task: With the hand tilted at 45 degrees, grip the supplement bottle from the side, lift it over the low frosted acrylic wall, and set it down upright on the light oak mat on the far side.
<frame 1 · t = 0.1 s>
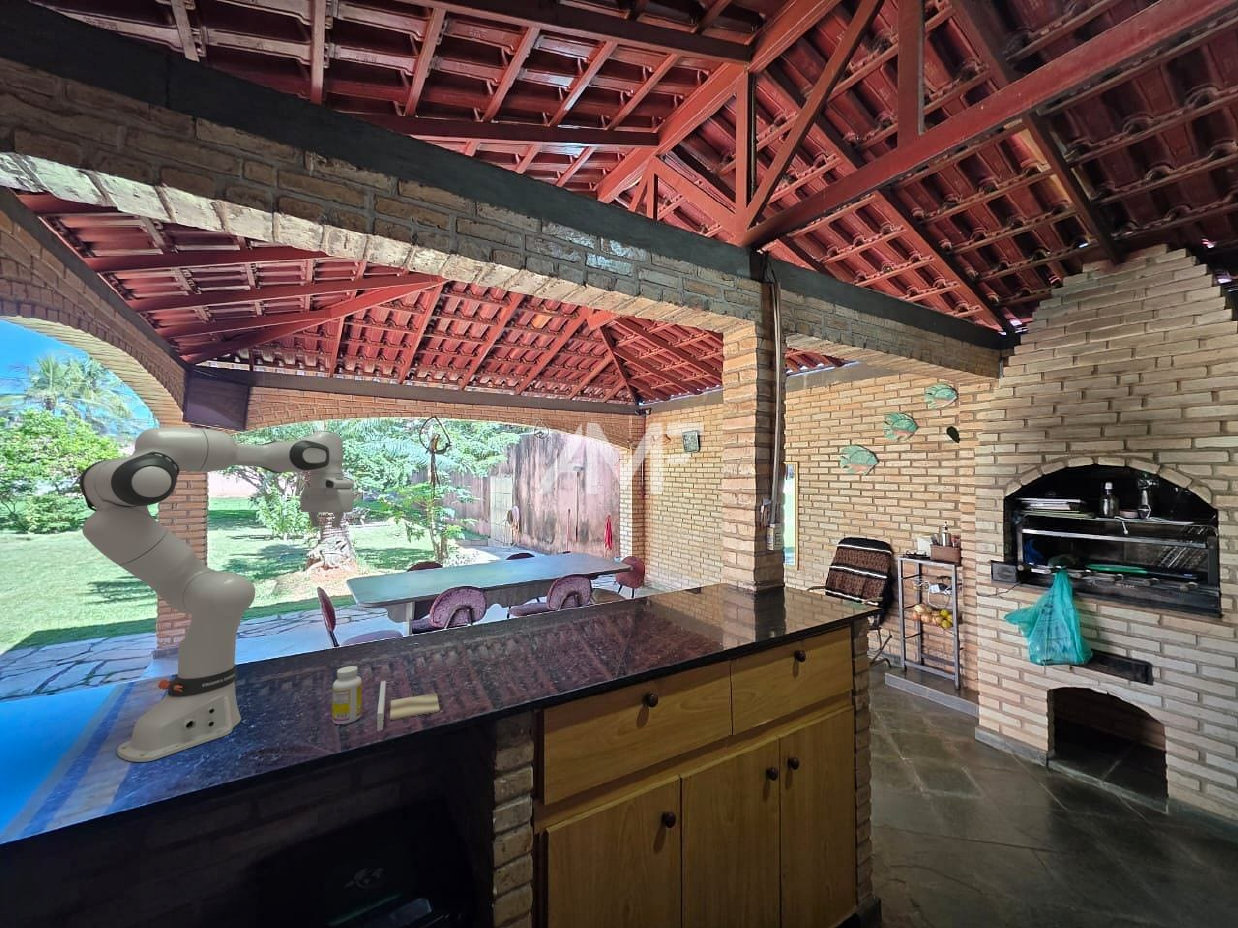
hand: (325, 527, 152), 48 cm above the counter, tool pointing down, fingers open, 8 cm apart
frosted acrylic wall: (381, 713, 129), on the counter
light oak mat: (414, 707, 133), on the counter
supplement bottle: (346, 720, 126), on the counter
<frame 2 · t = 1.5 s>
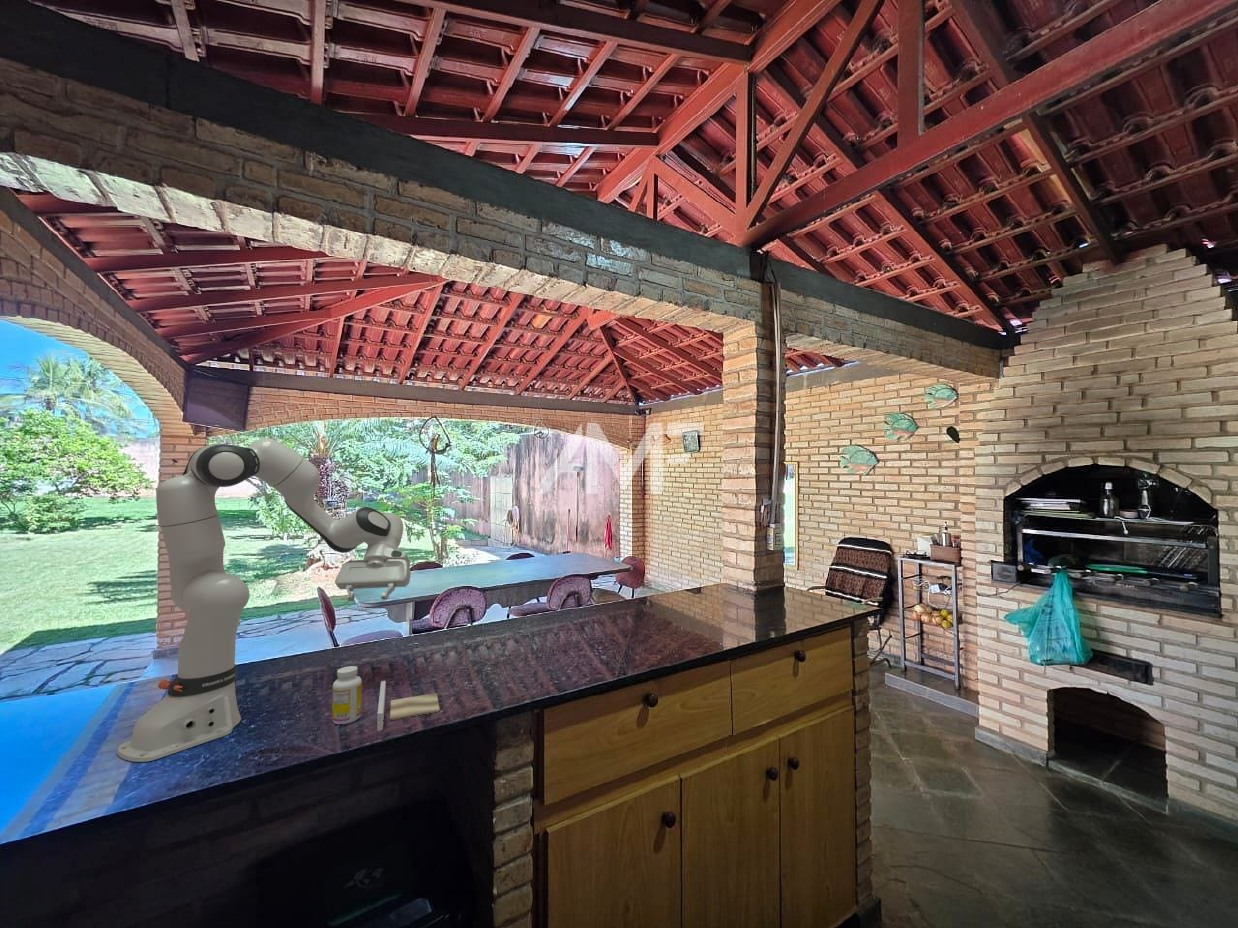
hand: (367, 599, 140), 28 cm above the counter, tool tilted 45°, fingers open, 8 cm apart
nothing on the counter moved.
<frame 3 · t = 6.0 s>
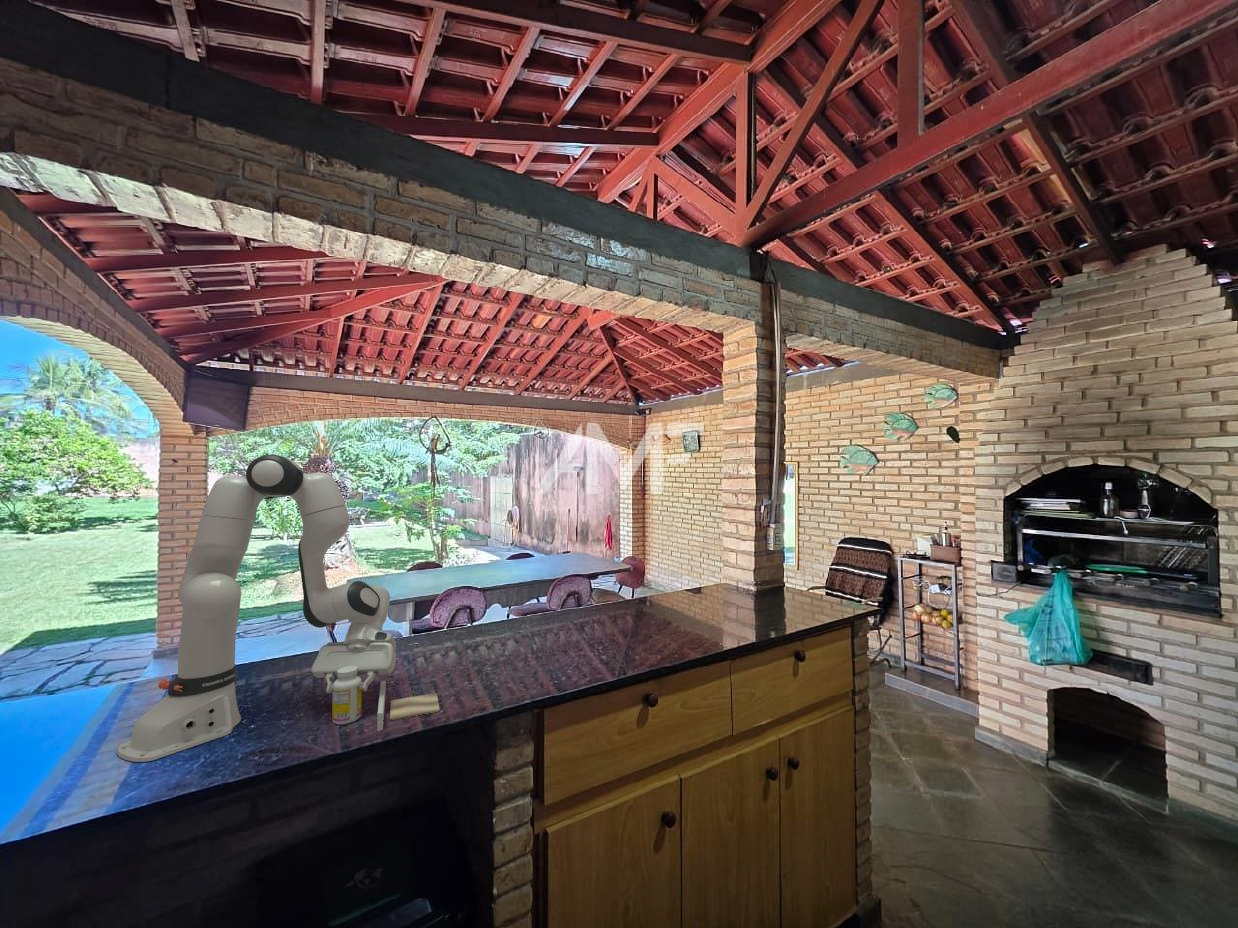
hand: (346, 691, 126), 7 cm above the counter, tool tilted 45°, fingers closed on supplement bottle, 7 cm apart
supplement bottle: (346, 720, 126), on the counter, touching gripper
when the fingers open (9 cm above the counter, at t = 12.2 s): supplement bottle stays where it is, resting on light oak mat.
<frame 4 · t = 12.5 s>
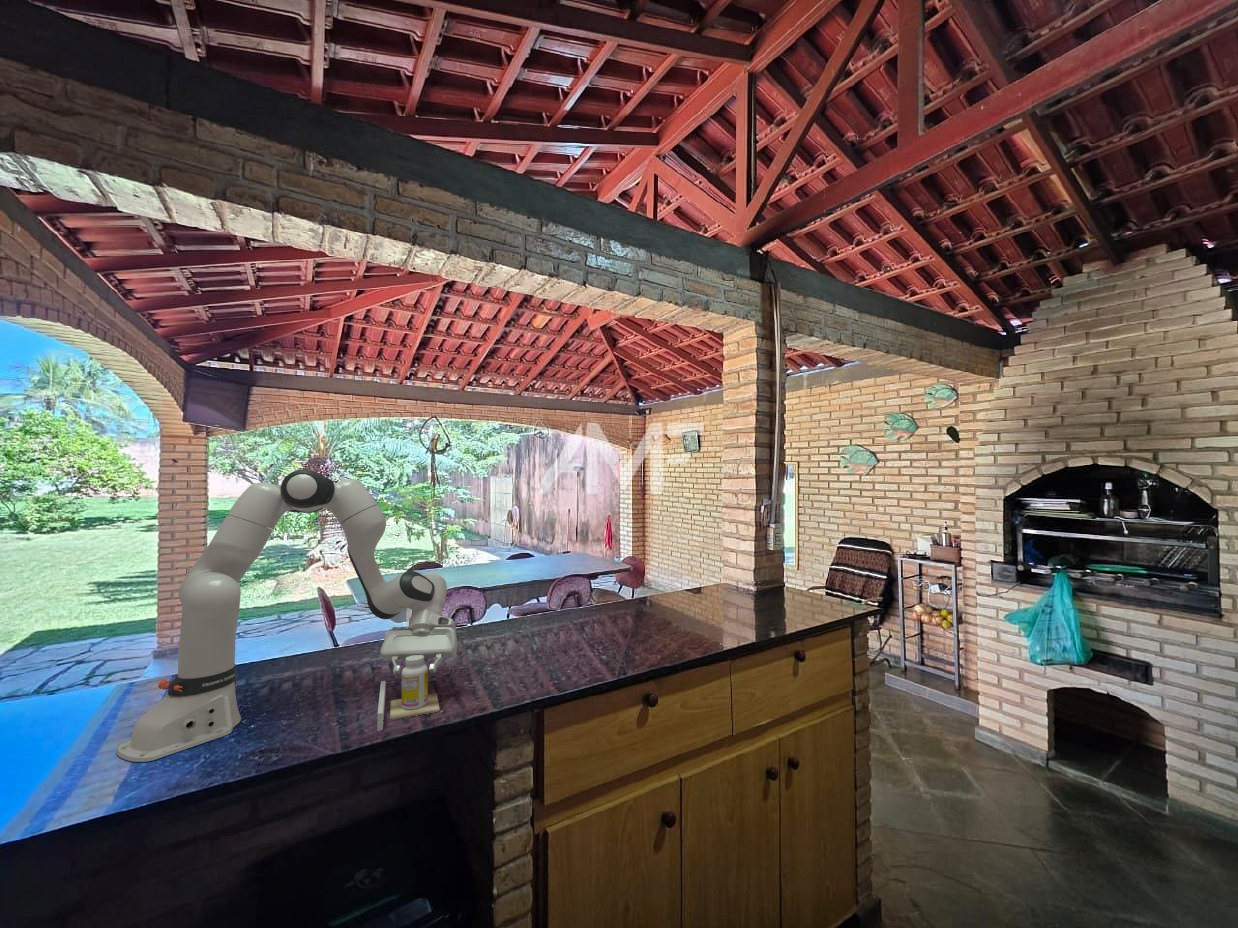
hand: (414, 672, 133), 10 cm above the counter, tool tilted 45°, fingers open, 8 cm apart
supplement bottle: (414, 705, 133), resting on light oak mat
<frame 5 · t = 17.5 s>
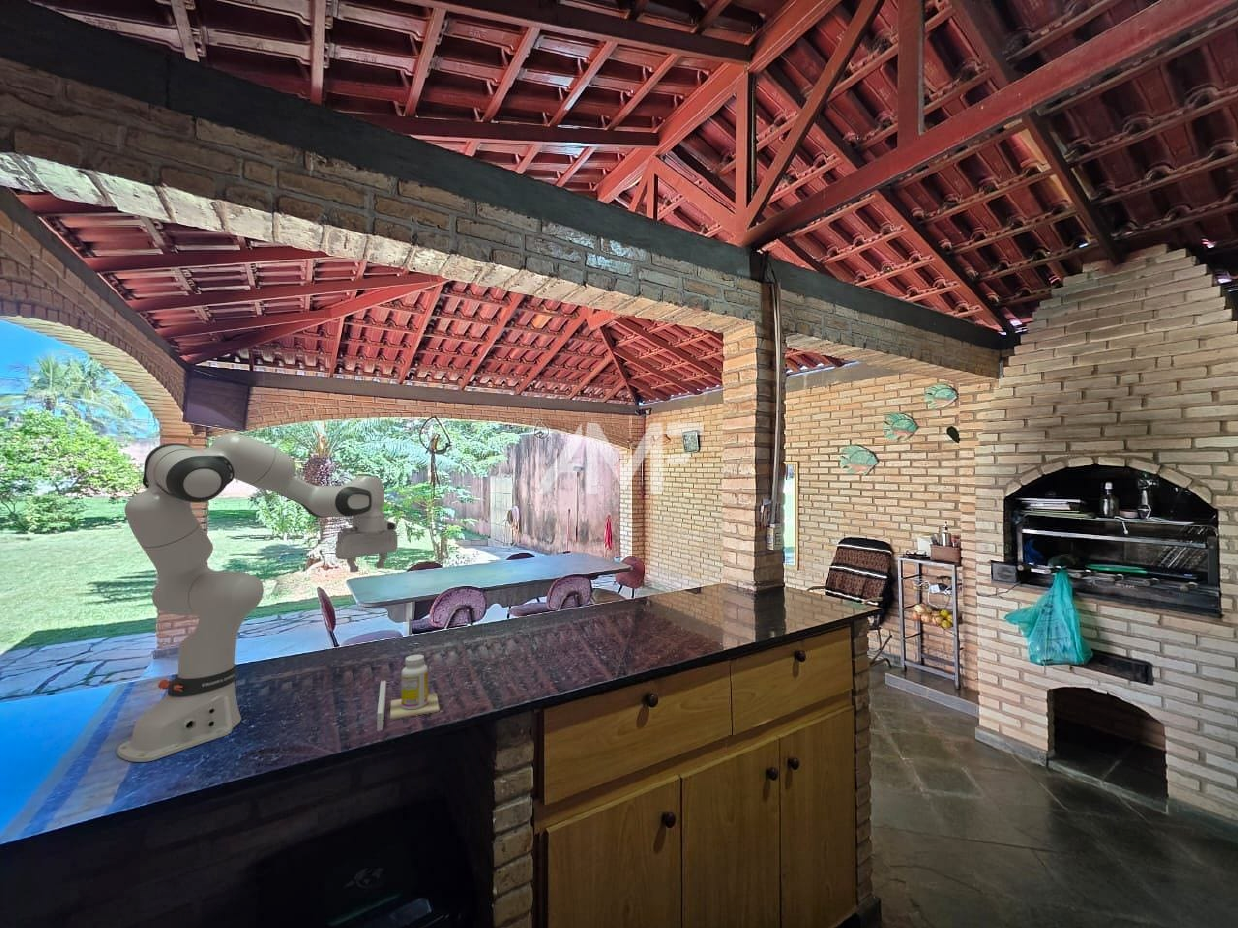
hand: (367, 569, 155), 34 cm above the counter, tool pointing down, fingers open, 8 cm apart
nothing on the counter moved.
at the end: supplement bottle inside the target area on the light oak mat (0.0 cm from its centre), point 0.4 cm above the light oak mat's base; supplement bottle tilted 0°; the gripper is holding nothing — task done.
